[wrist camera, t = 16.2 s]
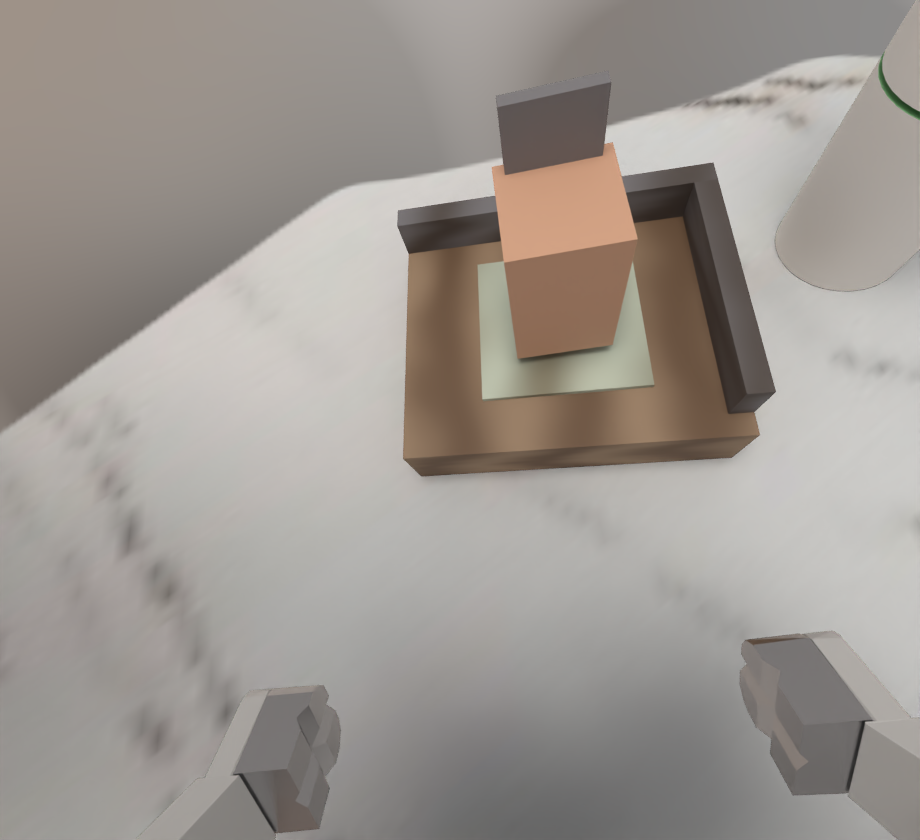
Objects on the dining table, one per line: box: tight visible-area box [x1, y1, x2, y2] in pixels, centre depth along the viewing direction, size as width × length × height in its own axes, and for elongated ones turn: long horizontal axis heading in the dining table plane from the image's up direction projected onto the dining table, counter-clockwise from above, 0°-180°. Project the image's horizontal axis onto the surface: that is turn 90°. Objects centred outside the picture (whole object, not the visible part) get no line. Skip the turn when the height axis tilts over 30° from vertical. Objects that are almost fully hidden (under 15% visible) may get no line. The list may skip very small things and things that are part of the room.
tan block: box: [492, 71, 638, 359], centre depth 22 cm, size 5×5×12 cm
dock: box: [397, 163, 776, 476], centre depth 28 cm, size 18×15×6 cm
